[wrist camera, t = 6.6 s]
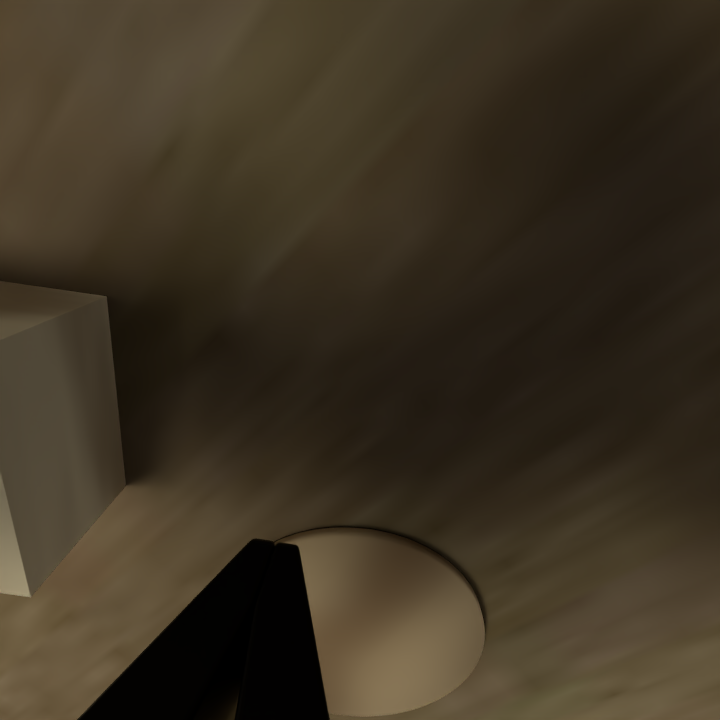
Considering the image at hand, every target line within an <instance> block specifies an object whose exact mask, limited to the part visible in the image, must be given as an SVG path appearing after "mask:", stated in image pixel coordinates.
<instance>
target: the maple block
mask: <svg viewBox="0 0 720 720" xmlns="http://www.w3.org/2000/svg"><path fill="white" fill-rule="evenodd" d="M125 486H126V480H125V471H124V461H123V451H122V441H121V431H120V422H119V412H118V402H117V392H116V382H115V373H114V363H113V353H112V343H111V333H110V324H109V314H108V304H107V296H101V295H94V294H88V293H81V292H74V291H67V290H60V289H53V288H46V287H39V286H32V285H25V284H18V283H11V282H4V281H0V593H5V594H12V595H19V596H26V597H31V596H32V595H33V594H34V593H35V592H36V590H37V589H38V588H39V587H40V586H41V585H42V583H43V582H44V581H45V580H46V579H47V578H48V576H49V575H50V574H51V573H52V572H53V571H54V569H55V568H56V567H57V566H58V565H59V564H60V562H61V561H62V560H63V559H64V558H65V556H66V555H67V554H68V553H69V552H70V551H71V549H72V548H73V547H74V546H75V545H76V544H77V542H78V541H79V540H80V539H81V538H82V537H83V535H84V534H85V533H86V532H87V531H88V530H89V528H90V527H91V526H92V525H93V524H94V523H95V521H96V520H97V519H98V518H99V517H100V515H101V514H102V513H103V512H104V511H105V510H106V508H107V507H108V506H109V505H110V504H111V503H112V501H113V500H114V499H115V498H116V497H117V496H118V494H119V493H120V492H121V491H122V490H123V489H124V487H125Z"/></svg>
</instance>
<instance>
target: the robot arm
mask: <svg viewBox="0 0 720 720" xmlns="http://www.w3.org/2000/svg"><path fill="white" fill-rule="evenodd" d="M77 720H330V718H329V712H328V707H327V701H326V695H325V690H324V684H323V679H322V673H321V667H320V662H319V656H318V651H317V645H316V639H315V634H314V628H313V623H312V617H311V611H310V606H309V600H308V595H307V589H306V583H305V578H304V572H303V567H302V561H301V555H300V550H299V547H298V546H297V545H295V544H289V543H282V542H278V543H277V544H276V545H275V543H274V542H273V541H269V540H263V539H252V540H251V541H250V542H249V543H248V544H247V545H246V546H245V547H244V548H243V549H242V550H241V551H240V552H239V553H238V554H237V555H236V556H235V557H234V558H233V559H232V560H231V561H230V562H229V563H228V564H227V565H226V566H225V567H224V568H223V569H222V570H221V571H220V572H219V573H218V574H217V576H216V577H215V578H214V579H213V580H212V581H211V582H210V583H209V584H208V585H207V586H206V587H205V588H204V589H203V590H202V591H201V592H200V593H199V594H198V595H197V596H196V597H195V598H194V599H193V600H192V601H191V602H190V603H189V604H188V605H187V607H186V608H185V609H184V610H183V611H182V612H181V613H180V614H179V615H178V616H177V617H176V618H175V619H174V620H173V621H172V622H171V623H170V624H169V625H168V626H167V627H166V628H165V629H164V630H163V631H162V632H161V633H160V634H159V635H158V636H157V638H156V639H155V640H154V641H153V642H152V643H151V644H150V645H149V646H148V647H147V648H146V649H145V650H144V651H143V652H142V653H141V654H140V655H139V656H138V657H137V658H136V659H135V660H134V661H133V662H132V663H131V664H130V665H129V666H128V667H127V668H126V670H125V671H124V672H123V673H122V674H121V675H120V676H119V677H118V678H117V679H116V680H115V681H114V682H113V683H112V684H111V685H110V686H109V687H108V688H107V689H106V690H105V691H104V692H103V693H102V694H101V695H100V696H99V697H98V698H97V699H96V701H95V702H94V703H93V704H92V705H91V706H90V707H89V708H88V709H87V710H86V711H85V712H84V713H83V714H82V715H81V716H80V717H79V718H78V719H77Z"/></svg>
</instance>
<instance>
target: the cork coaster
mask: <svg viewBox="0 0 720 720" xmlns="http://www.w3.org/2000/svg"><path fill="white" fill-rule="evenodd" d="M278 542H282V543H289V544H295V545H297V546H298V547H299V550H300V555H301V561H302V567H303V572H304V578H305V583H306V589H307V595H308V600H309V606H310V611H311V617H312V623H313V628H314V634H315V639H316V645H317V651H318V656H319V662H320V667H321V673H322V679H323V684H324V690H325V695H326V701H327V707H328V712H329V713H330V714H336V715H345V716H383V715H390V714H397V713H402V712H406V711H410V710H414V709H417V708H420V707H423V706H426V705H428V704H430V703H432V702H435V701H437V700H439V699H440V698H442V697H444V696H446V695H447V694H449V693H450V692H452V691H453V690H454V689H456V688H457V687H458V686H460V685H461V684H462V683H463V682H464V681H465V680H466V679H467V678H468V677H469V675H470V674H471V673H472V671H473V670H474V669H475V667H476V665H477V663H478V661H479V659H480V657H481V654H482V651H483V647H484V640H485V628H484V620H483V616H482V611H481V608H480V605H479V601H478V598H477V596H476V594H475V592H474V590H473V588H472V587H471V585H470V584H469V582H468V581H467V580H466V578H465V577H464V576H463V575H462V574H461V573H460V572H459V571H458V570H457V569H456V568H455V567H454V566H453V565H452V564H451V563H450V562H449V561H447V560H446V559H445V558H443V557H442V556H441V555H439V554H438V553H436V552H434V551H432V550H431V549H429V548H427V547H426V546H424V545H421V544H419V543H417V542H414V541H412V540H410V539H407V538H404V537H401V536H398V535H395V534H391V533H387V532H382V531H377V530H373V529H363V528H353V527H334V528H324V529H315V530H310V531H306V532H301V533H297V534H294V535H291V536H288V537H285V538H282V539H280V540H278V541H276V542H274V543H275V545H276V544H277V543H278Z"/></svg>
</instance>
